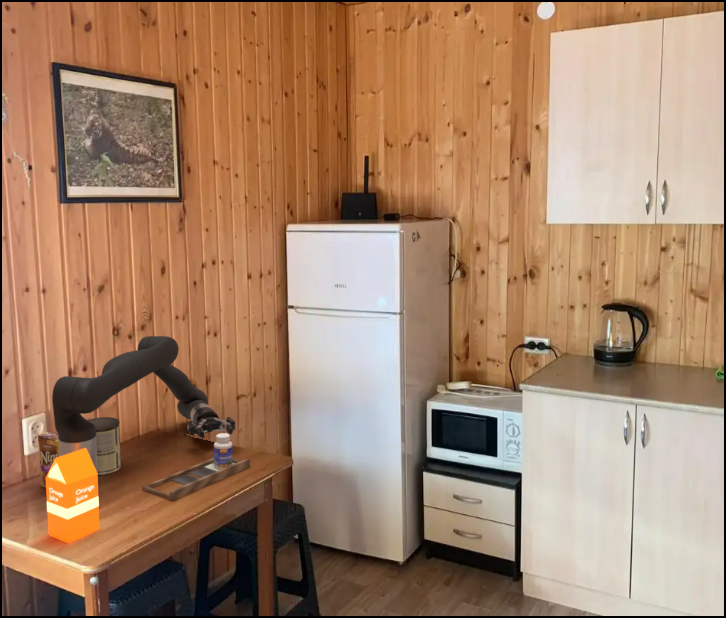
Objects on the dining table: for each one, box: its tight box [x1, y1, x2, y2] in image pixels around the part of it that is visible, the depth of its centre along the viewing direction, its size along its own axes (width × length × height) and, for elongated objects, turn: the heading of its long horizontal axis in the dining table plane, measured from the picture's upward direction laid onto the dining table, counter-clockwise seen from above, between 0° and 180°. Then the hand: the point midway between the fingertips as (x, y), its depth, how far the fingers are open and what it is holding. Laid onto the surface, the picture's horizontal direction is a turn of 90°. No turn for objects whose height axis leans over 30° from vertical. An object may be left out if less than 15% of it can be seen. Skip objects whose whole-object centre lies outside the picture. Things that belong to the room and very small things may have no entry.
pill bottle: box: [213, 432, 233, 469], centre depth 218 cm, size 5×5×10 cm
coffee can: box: [87, 416, 122, 476], centre depth 215 cm, size 10×10×14 cm
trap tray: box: [141, 457, 251, 502], centre depth 210 cm, size 30×12×2 cm, turn 146°
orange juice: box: [45, 448, 100, 544], centre depth 175 cm, size 8×9×20 cm
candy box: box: [37, 430, 59, 489], centre depth 200 cm, size 9×4×15 cm, turn 60°
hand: (217, 433), depth 225 cm, fingers open, 8 cm apart
